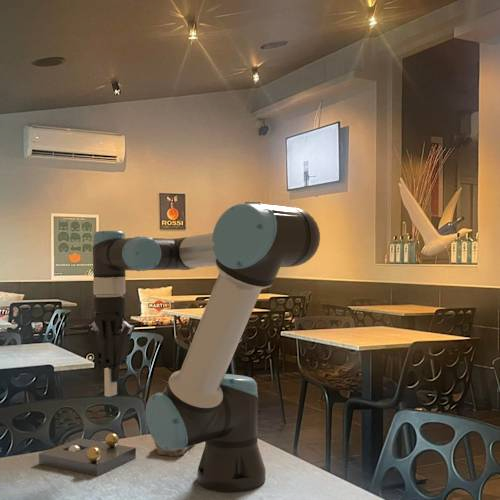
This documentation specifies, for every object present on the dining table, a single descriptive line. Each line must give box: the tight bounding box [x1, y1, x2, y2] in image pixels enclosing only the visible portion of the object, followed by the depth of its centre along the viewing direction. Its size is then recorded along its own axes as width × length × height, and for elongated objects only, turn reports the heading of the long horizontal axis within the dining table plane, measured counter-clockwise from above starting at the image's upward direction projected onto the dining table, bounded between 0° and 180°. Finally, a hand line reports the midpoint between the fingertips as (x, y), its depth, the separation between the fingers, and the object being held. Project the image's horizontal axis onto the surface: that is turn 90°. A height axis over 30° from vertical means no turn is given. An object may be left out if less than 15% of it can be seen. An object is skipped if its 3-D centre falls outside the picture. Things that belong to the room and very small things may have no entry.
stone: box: [153, 440, 195, 457], centre depth 157 cm, size 13×6×10 cm
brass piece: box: [87, 447, 101, 462], centre depth 141 cm, size 3×3×3 cm
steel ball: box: [68, 445, 81, 452], centre depth 150 cm, size 3×3×3 cm
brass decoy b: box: [104, 432, 120, 447], centre depth 152 cm, size 3×3×3 cm
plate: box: [38, 437, 137, 477], centre depth 148 cm, size 18×14×2 cm
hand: (110, 395), depth 145 cm, fingers closed
